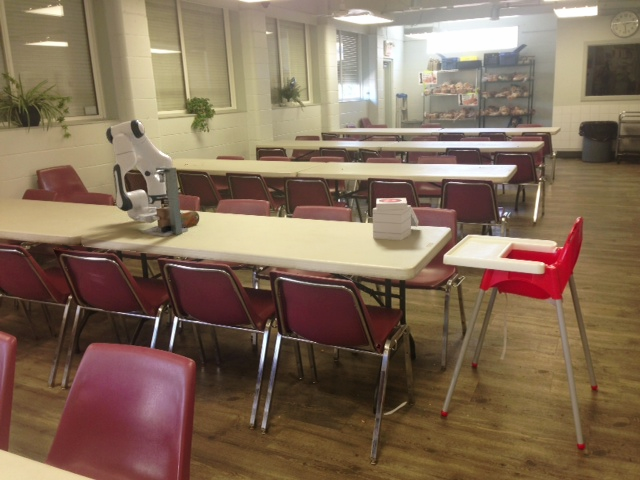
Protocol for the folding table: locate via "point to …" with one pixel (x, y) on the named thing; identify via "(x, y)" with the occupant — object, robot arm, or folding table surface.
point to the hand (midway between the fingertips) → (164, 217)
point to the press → (173, 203)
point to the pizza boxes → (393, 219)
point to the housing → (163, 216)
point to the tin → (189, 218)
